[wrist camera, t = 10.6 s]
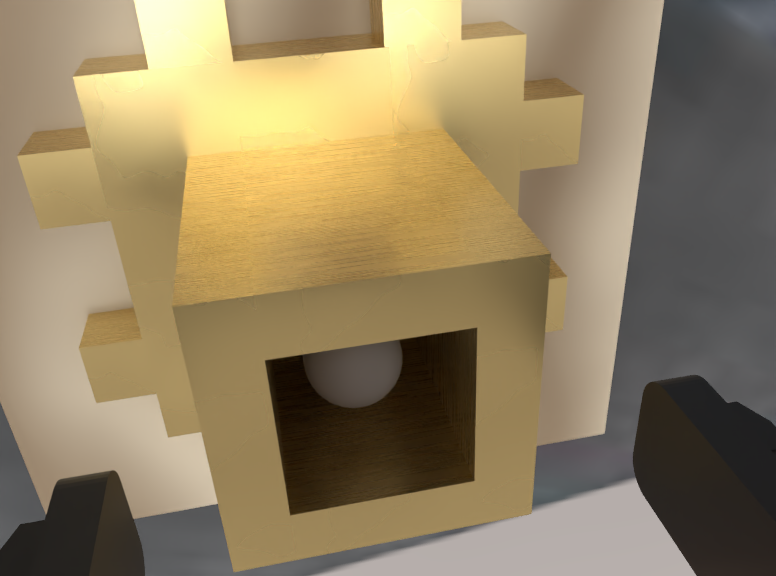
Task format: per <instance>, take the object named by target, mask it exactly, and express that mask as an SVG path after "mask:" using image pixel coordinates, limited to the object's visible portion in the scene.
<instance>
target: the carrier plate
mask: <svg viewBox="0 0 776 576" xmlns="http://www.w3.org/2000/svg"><path fill="white" fill-rule="evenodd" d="M225 2H226V9H227V15H228V22H229V28H230V35H231V42H232V46H233V45H244V44H256V43H267V42H278V41H289V40H300V39H311V38H322V37H333V36H344V35H355V34H366V33H371V23H370V5H369V0H225ZM663 5H664V0H461V25H466V24H477V23H488V22H499V21H503V22H505V23H507V24H509V25H511V26H512V27H514V28H516V29H518V30H520V31H522V32H523V33H525V34H527V37H526V58H525V79H524V81H533V80H542V79H552V78H558V79H560V80H561V81H563V82H564V83H566V84H568V85H569V86H571V87H572V88H574V89H576V90H577V91H579V92H581V93H582V94H584V102H583V113H582V124H581V135H580V146H579V157H578V164H572V165H564V166H556V167H548V168H540V169H532V170H523V171H520V183H519V203H518V216H519V217H520V218H521V219H522V220H523V221H524V223H525V224H526V225H527V226H528V227H529V228H530V230H531V231H532V232H533V233H534V234H535V235H536V237H537V238H538V239H539V240H540V241H541V242H542V244H543V245H544V246H545V247H546V248H547V249H548V250H549V252H550V253H551V258H552V259H553V260H554V261H555V263H556V264H557V265H558V266H559V267H560V268H561V270H562V271H563V272H564V273H565V274H566V275H567V277H568V279H567V290H566V301H565V312H564V323H563V330H558V331H552V332H545V340H544V354H543V367H542V380H541V393H540V406H539V420H538V433H537V446H539V445H545V444H550V443H556V442H561V441H567V440H572V439H578V438H583V437H589V436H594V435H600V434H604V433H605V426H606V419H607V412H608V404H609V397H610V390H611V383H612V375H613V368H614V361H615V353H616V346H617V339H618V332H619V324H620V317H621V310H622V303H623V295H624V288H625V281H626V274H627V266H628V259H629V252H630V244H631V237H632V230H633V223H634V215H635V208H636V201H637V194H638V186H639V179H640V172H641V165H642V157H643V150H644V143H645V135H646V128H647V121H648V114H649V106H650V99H651V92H652V85H653V77H654V70H655V63H656V55H657V48H658V41H659V34H660V26H661V19H662V12H663ZM134 54H145V49H144V44H143V39H142V35H141V30H140V25H139V20H138V16H137V11H136V6H135V1H134V0H0V402H1V405H2V407H3V410H4V412H5V415H6V417H7V420H8V422H9V425H10V427H11V430H12V432H13V434H14V437H15V439H16V442H17V444H18V447H19V449H20V452H21V454H22V457H23V459H24V462H25V464H26V466H27V469H28V471H29V474H30V476H31V479H32V481H33V484H34V486H35V489H36V491H37V494H38V496H39V499H40V501H41V503H42V506H43V508H44V511H45V513H46V514H47V511H48V507H49V503H50V500H51V496H52V493H53V489H54V486H55V484H56V482H57V481H58V480H59V479H63V478H69V477H75V476H81V475H87V474H93V473H99V472H105V471H111V470H115V471H116V472H117V473H118V475H119V477H120V480H121V483H122V486H123V489H124V492H125V495H126V498H127V501H128V504H129V507H130V510H131V514H132V517H133V519H136V518H142V517H147V516H153V515H158V514H164V513H170V512H175V511H181V510H186V509H192V508H197V507H203V506H208V505H214V504H218V502H217V498H216V494H215V489H214V485H213V481H212V476H211V472H210V468H209V463H208V459H207V455H206V451H205V446H204V442H203V438H202V433H201V432H199V433H193V434H187V435H181V436H175V437H169V438H168V435H167V432H166V428H165V424H164V420H163V417H162V413H161V409H160V405H159V401H158V398H157V394H152V395H146V396H139V397H133V398H127V399H120V400H114V401H108V402H101V403H96V401H95V398H94V395H93V391H92V388H91V385H90V382H89V379H88V376H87V373H86V370H85V367H84V363H83V360H82V357H81V354H80V351H79V346H80V342H81V339H82V335H83V332H84V328H85V325H86V321H87V318H88V315H89V314H93V313H100V312H107V311H114V310H121V309H129V308H134V307H133V303H132V299H131V296H130V292H129V288H128V284H127V281H126V277H125V273H124V269H123V265H122V262H121V258H120V254H119V250H118V247H117V243H116V239H115V235H114V231H113V228H112V224H111V221H107V222H99V223H91V224H82V225H74V226H66V227H58V228H50V229H42V230H41V229H40V226H39V223H38V220H37V217H36V214H35V211H34V207H33V204H32V201H31V198H30V195H29V192H28V189H27V186H26V183H25V179H24V176H23V173H22V170H21V167H20V164H19V161H18V158H17V155H18V154H19V152H20V151H21V149H22V148H23V146H24V145H25V144H26V142H27V141H28V139H29V138H30V136H31V135H32V134H33V132H40V131H49V130H59V129H69V128H78V127H86V126H85V122H84V118H83V114H82V111H81V107H80V103H79V99H78V95H77V92H76V88H75V84H74V80H73V75H74V74H75V72H76V71H77V70H78V68H79V67H80V65H81V64H82V62H83V61H84V59H89V58H100V57H112V56H123V55H134ZM302 356H303V362H304V367H305V372H306V375H307V378H308V380H309V382H310V384H311V385H312V387H313V388H314V389H315V391H316V392H317V393H318V394H319V395H320V396H321V397H322V398H324V399H325V400H327V401H328V402H330V403H332V404H335V405H338V406H341V407H345V408H360V407H365V406H368V405H371V404H373V403H376V402H377V401H379V400H381V399H382V398H383V397H385V396H386V395H387V394H388V393H389V392H390V391H391V389H392V388H393V387H394V385H395V384H396V382H397V380H398V378H399V375H400V372H401V368H402V348H401V345H400V341H399V340H393V341H387V342H380V343H374V344H367V345H361V346H354V347H348V348H341V349H335V350H328V351H322V352H315V353H309V354H302Z"/></svg>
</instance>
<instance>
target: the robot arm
mask: <svg viewBox="0 0 776 576" xmlns="http://www.w3.org/2000/svg"><path fill="white" fill-rule="evenodd" d="M633 466H634V472H635V476H636V479H637V483H638V485H639V487H640V490H641V492H642V493H643V495H644V497H645V498H646V500H647V501H648V503H649V504H650V506H651V507H652V509H653V510H654V512H655V513H656V515H657V516H658V518H659V519H660V521H661V522H662V524H663V525H664V527H665V528H666V530H667V531H668V533H669V534H670V536H671V537H672V539H673V541H674V542H675V544H676V545H677V546H678V548H679V550H680V551H681V553H682V554H683V556H684V557H685V559H686V560H687V562H688V563H689V565H690V566H691V568H692V569H693V571H694V572H695V574H696V575H697V576H776V427H775V426H774V425H773V423H772V422H771V421H769V420H767V419H766V418H764V417H762V416H761V415H759V414H757V413H755V412H754V411H752V410H750V409H749V408H747V407H745V406H743V405H742V404H740V403H738V402H732V403H726V402H725V400H724V399H723V398H722V397H721V396H720V395H719V394H718V393H717V392H716V391H715V390H714V389H713V388H712V386H711V385H710V384H709V383H708V382H707V381H706V380H705V379H704V378H702V377H700V376H698V375H690V376H684V377H678V378H672V379H666V380H660V381H654V382H650V383H648V384H647V385H646V387H645V389H644V392H643V397H642V403H641V409H640V415H639V421H638V427H637V433H636V440H635V446H634V452H633ZM0 576H145V567H144V557H143V550H142V545H141V541H140V538H139V535H138V532H137V529H136V526H135V523H134V520H133V517H132V514H131V510H130V507H129V504H128V501H127V498H126V495H125V492H124V489H123V486H122V483H121V480H120V477H119V475H118V473H117V472H116V471H115V470H111V471H105V472H99V473H93V474H87V475H81V476H75V477H69V478H63V479H59V480H58V481H57V482H56V484H55V486H54V489H53V493H52V496H51V500H50V503H49V507H48V511H47V514H46V518H45V520H42V521H37V522H31V523H25V524H20V525H19V527H18V528H17V529H16V531H15V532H14V533H13V534H12V536H11V537H10V538H9V539H8V541H7V542H6V543H5V545H4V546H3V547H2V548H1V550H0Z"/></svg>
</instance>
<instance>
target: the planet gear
mask: <svg viewBox="0 0 776 576" xmlns="http://www.w3.org/2000/svg"><path fill="white" fill-rule="evenodd" d="M134 1H135V6H136V11H137V16H138V20H139V25H140V30H141V35H142V39H143V44H144V49H145V54H134V55H123V56H112V57H100V58H89V59H84V61H83V62H82V64H81V65H80V67H79V68H78V70H77V71H76V72H75V74H74V75H73V80H74V84H75V88H76V92H77V95H78V99H79V103H80V107H81V111H82V114H83V118H84V122H85V126H86V127H78V128H69V129H59V130H49V131H40V132H33V134H32V135H31V136H30V138H29V139H28V141H27V142H26V144H25V145H24V146H23V148H22V149H21V151H20V152H19V154H18V155H17V158H18V161H19V164H20V167H21V170H22V173H23V176H24V179H25V183H26V186H27V189H28V192H29V195H30V198H31V201H32V204H33V207H34V211H35V214H36V217H37V220H38V223H39V226H40V229H41V230H42V229H50V228H58V227H66V226H74V225H82V224H91V223H99V222H107V221H111V224H112V228H113V231H114V235H115V239H116V243H117V247H118V250H119V254H120V258H121V262H122V265H123V269H124V273H125V277H126V281H127V284H128V288H129V292H130V296H131V299H132V303H133V307H134V308H129V309H121V310H114V311H107V312H100V313H93V314H89V315H88V318H87V321H86V325H85V328H84V332H83V335H82V339H81V342H80V346H79V351H80V354H81V357H82V360H83V363H84V367H85V370H86V373H87V376H88V379H89V382H90V385H91V388H92V391H93V395H94V398H95V401H96V403H101V402H108V401H114V400H120V399H127V398H133V397H139V396H146V395H152V394H157V398H158V401H159V405H160V409H161V413H162V417H163V420H164V424H165V428H166V432H167V435H168V438H169V437H175V436H181V435H187V434H193V433H199V432H201V433H202V438H203V442H204V446H205V451H206V455H207V459H208V463H209V468H210V472H211V476H212V481H213V485H214V489H215V494H216V498H217V502H218V506H219V511H220V515H221V519H222V524H223V528H224V532H225V536H226V541H227V545H228V549H229V554H230V558H231V562H232V567H233V571H234V572H237V571H242V570H247V569H253V568H258V567H263V566H268V565H273V564H278V563H283V562H288V561H293V560H298V559H304V558H309V557H314V556H319V555H324V554H329V553H334V552H339V551H344V550H350V549H355V548H360V547H365V546H370V545H375V544H380V543H385V542H390V541H396V540H401V539H406V538H411V537H416V536H421V535H426V534H431V533H436V532H441V531H447V530H452V529H457V528H462V527H467V526H472V525H477V524H482V523H487V522H493V521H498V520H503V519H508V518H513V517H518V516H523V515H528V514H531V512H532V499H533V486H534V473H535V459H536V446H537V433H538V420H539V406H540V393H541V380H542V367H543V354H544V340H545V332H552V331H558V330H563V323H564V312H565V301H566V290H567V279H568V277H567V275H566V274H565V273H564V272H563V271H562V270H561V268H560V267H559V266H558V265H557V264H556V263H555V261H554V260H553V259H552V258H551V253H550V252H549V250H548V249H547V248H546V247H545V246H544V245H543V244H542V242H541V241H540V240H539V239H538V238H537V237H536V235H535V234H534V233H533V232H532V231H531V230H530V228H529V227H528V226H527V225H526V224H525V223H524V221H523V220H522V219H521V218H520V217H519V216H518V203H519V183H520V171H523V170H532V169H540V168H548V167H556V166H564V165H572V164H578V157H579V146H580V135H581V124H582V113H583V102H584V94H582V93H581V92H579V91H577V90H576V89H574V88H572V87H571V86H569V85H568V84H566V83H564V82H563V81H561V80H560V79H558V78H552V79H542V80H533V81H524V79H525V58H526V37H527V34H525V33H523V32H522V31H520V30H518V29H516V28H514V27H512V26H511V25H509V24H507V23H505V22H503V21H499V22H488V23H477V24H466V25H461V0H369V5H370V23H371V33H366V34H355V35H344V36H333V37H322V38H311V39H300V40H289V41H278V42H267V43H256V44H244V45H233V46H232V42H231V35H230V28H229V22H228V15H227V9H226V2H225V0H134ZM393 340H399V341H400V345H401V348H402V368H401V372H400V375H399V378H398V380H397V382H396V384H395V385H394V387H393V388H392V389H391V391H390V392H389V393H388V394H387V395H386V396H385V397H383V398H382V399H381V400H379V401H377V402H376V403H373V404H371V405H368V406H365V407H360V408H345V407H341V406H338V405H335V404H332V403H330V402H328V401H327V400H325V399H324V398H322V397H321V396H320V395H319V394H318V393H317V392H316V391H315V389H314V388H313V387H312V385H311V384H310V382H309V380H308V378H307V375H306V372H305V367H304V362H303V356H302V354H309V353H315V352H322V351H328V350H335V349H341V348H348V347H354V346H361V345H367V344H374V343H380V342H387V341H393Z"/></svg>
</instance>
